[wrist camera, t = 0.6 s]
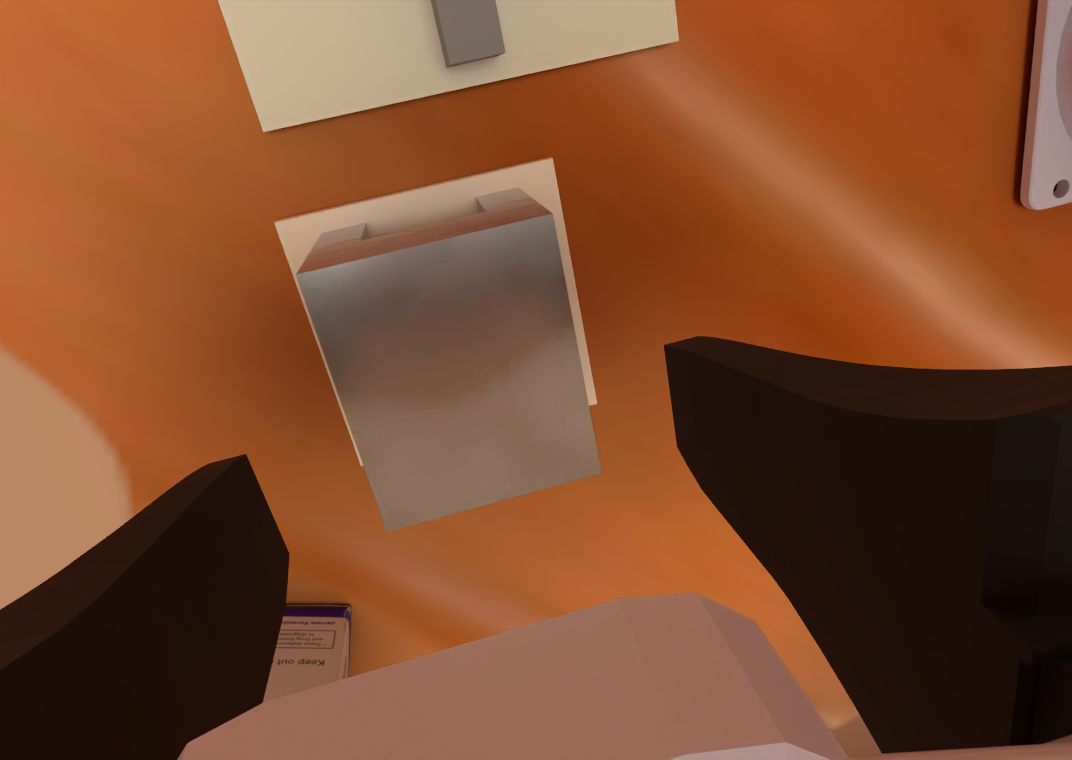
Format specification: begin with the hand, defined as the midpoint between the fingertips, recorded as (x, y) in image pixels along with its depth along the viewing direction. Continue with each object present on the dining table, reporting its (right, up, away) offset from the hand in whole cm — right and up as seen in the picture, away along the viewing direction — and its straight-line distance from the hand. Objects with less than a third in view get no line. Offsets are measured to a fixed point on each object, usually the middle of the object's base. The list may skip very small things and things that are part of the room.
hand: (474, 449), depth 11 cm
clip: (-1, +3, +7) cm, 7 cm away
